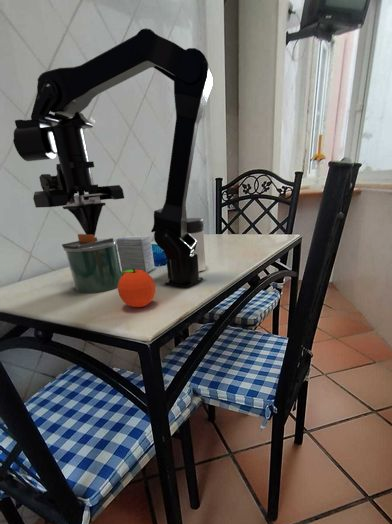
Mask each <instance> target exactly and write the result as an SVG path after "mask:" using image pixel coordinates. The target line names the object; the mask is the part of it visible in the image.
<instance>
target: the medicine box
mask: <svg viewBox="0 0 392 524" xmlns="http://www.w3.org/2000/svg"><path fill="white" fill-rule="evenodd" d="M115 240H116V241H117V244H116V248H117V253H118V258H119V264H120V269H121V272H123V271H126V270H133V269H135V270H142V271H144V272H146V273H150V272H152V271H154V269H155V268H156V267H155V261H154V254H153V248H152V240H151V236H150V235H124V236H121V237H118V238H116V239H115ZM123 273H124V272H123Z"/></svg>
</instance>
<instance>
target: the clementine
mask: <svg viewBox="0 0 392 524" xmlns="http://www.w3.org/2000/svg"><path fill="white" fill-rule="evenodd" d="M118 275H119V274H118ZM118 275H117V276H118ZM121 275H122V276H121V278H120V280H119V283H118V287H117V293H118V296H119V298H120V299H121V300H122V302H123V303H125V304H126V305H127V306H129V307H132V308H141V307H146V306H147V305H149V304H150V303H151V302H152V300H153V299H154V297H155V296H156V283H155V281H154V279H153V277H152V276H151V275H150V274H149V272H147V273H146V272H144V271H142V270H135V269H133V270H126V271H123V272H122V271H121ZM117 276H116V277H117ZM115 280H116V278H115ZM114 283H115V282H114Z"/></svg>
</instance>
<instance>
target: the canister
mask: <svg viewBox="0 0 392 524" xmlns="http://www.w3.org/2000/svg"><path fill="white" fill-rule="evenodd" d="M94 238H95V242H92V243H87V244H83V245H78V248H77V249H74V248H64V247H63V245H68V244H72V243H77V242H79V240H75V241H71V242H66V243H62V244H61V247H62V249H63V251H64V252H65V254H66V259H67V262H68V265H69V270H70V273H71V277H72V281H73V285H74V289H75V290H76V291H77V292H79V293H84V294H85V293H87V294H92V293H100V292H102V293H103V292H107V291H110V290H114V289H117V288H118V283H119V280H120V278H121V276H122V275H123V274H122V273H121V272H122V268H121V263H120V258H119V252H118V247H117V241H116V239H114V238H113V237H110V238H98V237H97V236H95V237H94ZM118 274H119V275H118ZM117 275H118V276H117ZM116 276H117V277H116ZM115 278H116V280H115ZM114 282H115V283H114Z"/></svg>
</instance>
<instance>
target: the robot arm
mask: <svg viewBox="0 0 392 524" xmlns="http://www.w3.org/2000/svg"><path fill="white" fill-rule="evenodd" d="M150 68H153V69H154V70H157V71H158V72H159V73H161V74H162V75H164V76H165V77H167V78H168V79H170V80H171V81H172V82H173V96H174V97H173V98H174V107H175V125H174V131H173V132H174V133H173V139H172V147H171V153H170V154H171V155H170V164H169V170H168V178H167V185H166V194H165V200H164V204H163V206H162V207H161V208H159V209H155V210H154V211H153V226H152V229H151V231H150V232H151V233H153V239H154V242H155V243H156V245H157V246H158V247H159V248H160V249H161V250H162V251H163V253H164V255H165V257H166V269H167V278H168V280H166V281H165V282H164V284H165V285H168V286H174V287H179V288H189V287H191V286H194V285H196V284H198V283H201V282H202V281H204V277H201V276H200V271H199V270H198V255H197V254H195V253H193V252H194V251H195V249H196V245H197V241H196V240H195V239H194V238H193V237H192V236H191V235H190V234H189V233H188V232H187V218H188V216H187V198H188V193H189V192H188V190H189V184H190V178H191V172H192V168H193V167H192V165H193V162H194V161H193V160H194V153H195V148H196V141H197V135H198V129H199V124H200V122H201V118H202V116H203V114H204V111H205V109H206V107H207V103H208V100H209V97H210V94H211V91H212V87H213V82H214V81H213V79H214V78H213V73H212V70H211V67H210V64H209V61H208V59H207V57H206V56H205V54H204V53H203V52H202V51H201V50H200V49H197V48H195V47H188V48H186V49H185V48H183V47H182V46H180V45H178V44H177V43H175V42H173V41H172V40H169V39H167V38H165V37H162V36H160V35H158V34H157V33H155V31H154V30H153V29H151V28H147V27H146V28H141V29H140V30H139V31H138V32H137V33H136V34H135V35H133V36H131V37H129V38H127V39H126V40H124V41H122V42H121V43H119V44H117V45H115V46H113V47H111V48H110V49H108V50H106V51H104V52H102V53H100V54H99V55H97V56H95V57H93V58H91V59H89V60H88V61H86V62H84V63H82V64H80V65H76V66H71V67H70V66H69V67H57V68H54V69H50V70H47V71H44V72H42V73H41V74H39V76H38V78H37V84H36V85H37V86H36V87H37V88H36V90H37V91H36V96H35V100H34V103H33V107H32V112H31V113H30V114H31V115H30V119H15V120H14V124H15V127H16V128H14V129H13V130H14V131H13V141H12V142H13V145H14V148H15V150H16V152H17V153H18V155H19V157H21V159H22V160H24V161H26V162H35V161H46V160H54V159H55V158H56V157H57V158H58V162H59V163H56V164H55V165H56V167H55V168H56V175H51V174H50V173H42V174H41V175H40V176H38V178H39V183H40V187H41V189H42V190H40V191H39V190H38V191H34V194H33V198H32V199H33V203H34V206H35V208H37V209H38V208H56V207H57V208H58V207H62V209H63V210H68V211H69V212H70V213H71V215H73V216H74V218H75V219H76V220H77V222H78V223H79V225H80V226H81V228H82V230H83V232H84V234H91V235H94V237H96V231H97V228H98V223H99V219H100V217H101V212H102V210H103V207H104V206H106V202H102V201H103V200H104V201H105V200H115V201H116V200H122V199H125V194H124V193H125V192H124V189H123V188H122V186H121V185H120V184H114V185H103V186H99V184H94V179H93V173H92V168H95V163H94V161H90V158H89V154H88V148H87V144H86V139H85V133H84V130H85V129H93V127H94V125H93V122H91V121H90V120H88V118H86V116H84V113H81V112H83V111H84V110H85V109H87V108H88V106H89V105H90V103H91V102H92V101H93V99H94V98H96V97H97V96H98V95H99V94H101V93H103V92H106V91H107V90H109V89H111V88H114V87H116V86H117V85H119V84H121V83H123V82H125V81H127V80H129V79H131V78H133V77H135V76H137V75H139V74H141V73H142V72H145V71H147V70H149V69H150Z"/></svg>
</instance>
